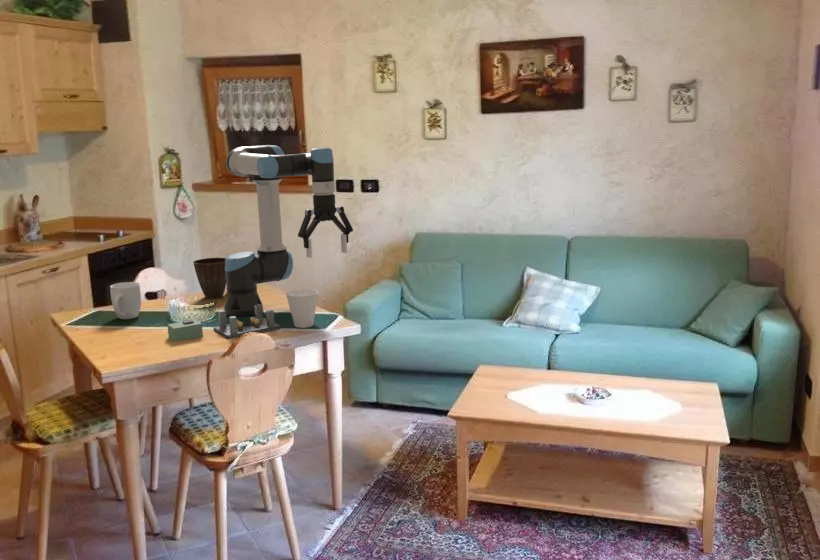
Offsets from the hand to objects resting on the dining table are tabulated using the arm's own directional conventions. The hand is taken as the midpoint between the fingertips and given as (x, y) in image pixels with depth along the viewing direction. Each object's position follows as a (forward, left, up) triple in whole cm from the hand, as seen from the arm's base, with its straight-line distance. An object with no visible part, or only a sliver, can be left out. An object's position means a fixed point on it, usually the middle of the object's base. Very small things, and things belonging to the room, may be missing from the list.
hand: (327, 255), depth 268 cm
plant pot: (-83, -13, -28) cm, 89 cm away
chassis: (-23, -22, -28) cm, 43 cm away
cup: (-15, -3, -28) cm, 32 cm away
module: (-28, -43, -28) cm, 59 cm away
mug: (-70, -53, -28) cm, 93 cm away
